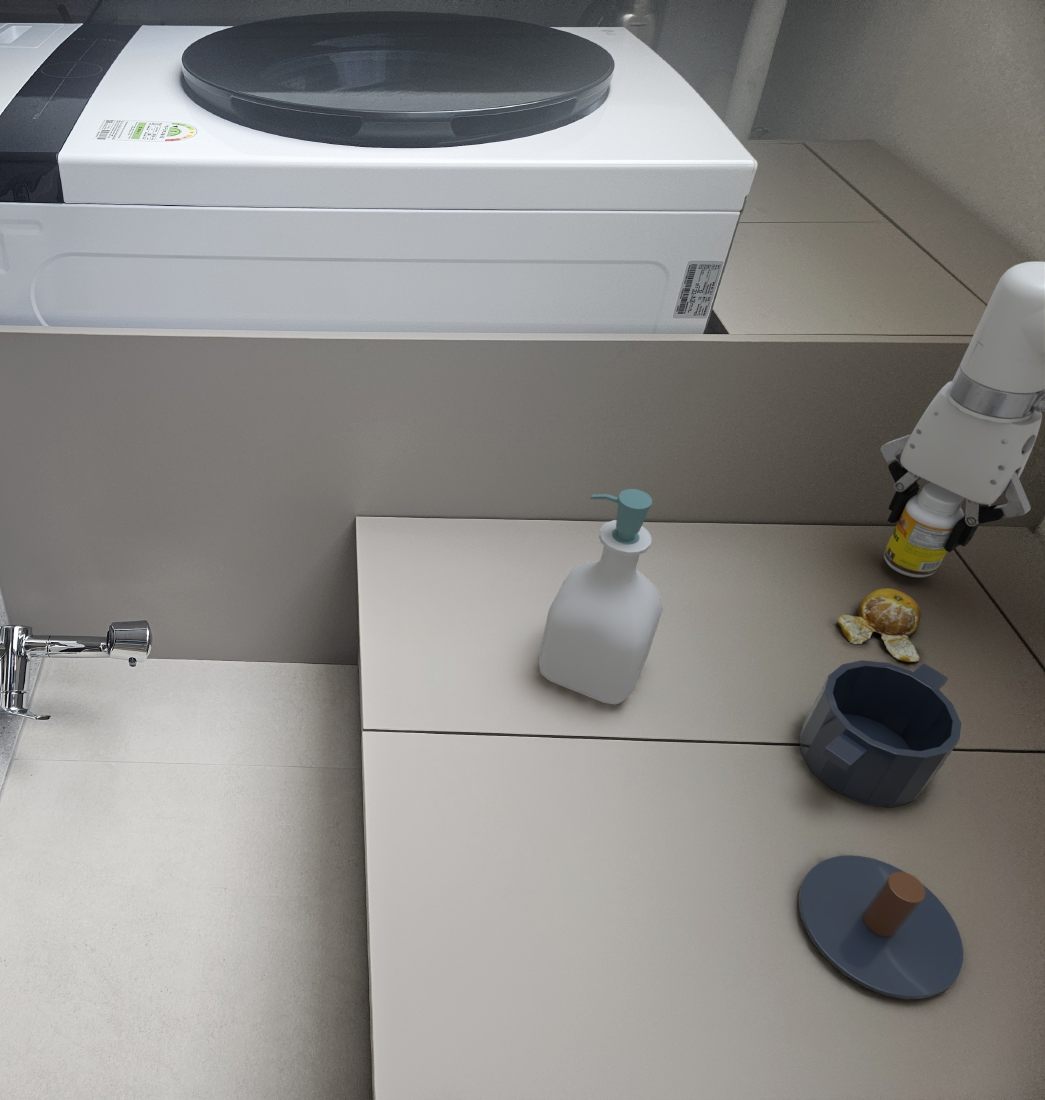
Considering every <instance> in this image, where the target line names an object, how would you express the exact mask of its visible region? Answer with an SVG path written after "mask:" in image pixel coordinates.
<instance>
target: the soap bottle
mask: <svg viewBox="0 0 1045 1100" xmlns="http://www.w3.org/2000/svg"><path fill="white" fill-rule="evenodd" d="M590 500H607V501H610V502H613V503H616V504H617V512H616V519H612V520H610V521H607V522H605V523H604V524H602V526H601V527H600V530H599V534H598V539H599V541H600V543H601V544H602V546H603V548H602V552H601V556H600V559H596V560H591V561H587V562H586V561H585V562H583V563H581V564H579V565H577V566H574V567H573V568H572V569H571V570H570V572H569V573H568V574H567V576H565V578H564V580H563V581H562V583H561V586H560V588H559V589H558V592H557V593H556V595H555V597H554V599H553V600H552V602H551V604H550V607H549V608H548V611H547V616H546V622H545V626H544V630H543V635H542V641H541V644H540V649H539V653H538V663H539V672H540V674H541V675H542V676H543V677H544V678H545V679H547V680H548V681H549V682H551V683H554V684H556V685H558V686H561V687H563V688H565V689H569V690H571V691H573V692H576V693H578V694H580V695H584V696H586V697H588V698H590V699H594V700H596V701H598V702H600V703H603V704H609V705H618V704H621V703H622V702H623V701H625V700H627V699H628V697H629V696H630V695H631V694H632V693H633V690H634V688H635V686H636V683H637V681H638V679H639V677H640V675H641V672H642V670H643V668H644V666H645V663H646V661H647V660H648V656H649V653H650V651H651V647H652V645H653V641H654V637H655V636H656V635H655V634H656V632H657V628H658V626H659V623H660V620H661V617H662V614H663V610H664V604H663V601H662V595H661V593H660V590H659V588H658V587H657V586H656V585H655V584H654V583H653V582H652V581H651V580H649V579H648V578H647V577H646V576H645V575H644V574H643V573H642V572H641V571H640V570H638V569H637V566H638V563H639V559H640V556H641V555H642V554H645V553H646V552H648V550H649V549H650V548H651V545H652V538H653V537H652V536H651V533H650V531H649V530H647V529H646V527H644V526H643V525H644V523H645V519H646V518H647V516H648V513H649V511H650V509H651V506H652V504H653V498H652V497H651V495H649V494H648V493H647V492H646V491H643V490H641V489H637V488H626V489H624V490H622V491H621V492H619V494H618V497H617V496H615V495H611V494H609V493H600V494H599V493H597V494H596V493H595V494H591V496H590Z"/></svg>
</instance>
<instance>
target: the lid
mask: <svg viewBox="0 0 1045 1100" xmlns="http://www.w3.org/2000/svg"><path fill="white" fill-rule="evenodd" d="M798 907H799V908H798V909H799V914H800V918H801V921H802V924H803V926H804V929H805V931H806V933H807V935H808V936H809V938H810V940H811V941H812V943H813V944H814V945H815V947H816V949H817V950H818V951H819V953H820V954H821V955H822V956H823V957H824V958H825V959H826V961H828V963H830V964H831V965H832V966H833V967H834V968H835V969H837V970H838V971H839V972H840V973H841V974H843V975H844V976H846V977H847V978H849V979H850V980H852V981H853V982H855V983H857V984H858V985H860V986H862V987H864V988H866V989H867V990H871V991H872V992H876V993H877V994H881V995H883V996H887V997H891V998H896V999H903V1000H922V999H927V998H932V997H934V996H936V995H939V994H941V993H942V992H944V991H945V990H947V989H948V988H949V987H951V985H952V984H953V983H954V982H955V981H956V979H957V978H958V976H959V975H960V972H961V970H962V967H963V962H964V946H963V941H962V938H961V937H962V936H961V934H960V931H959V929H958V927H957V924H956V922H955V920H954V918H953V917H952V915H951V914H950V912H949V910H948V909H947V908H946V906H945V905H944V904H943V903H942V902H941V900H940V899H939V898H938V897H937V896H936V894H934V893H933V892H932V891H931V890H930V889H929V888H928V887H927V886H925V885H924V884H923V883H922V882H921V881H920V880H919V879H918V878H917V877H915V876H914V875H913V874H911V873H908V872H905V871H904V870H902V869H900V868H899V867H896V866H895V865H892V864H890V863H887V862H884V861H881V860H879V859H876V858H873V857H872V858H871V857H867V856H861V855H850V854H849V855H839V856H833V857H830V858H827V859H824V860H822V861H820V862H819V863H817V864H816V865H814V866H813V867H812V868H811V869H810V870H809V871H808V872H807V874H806V875H805V877H804V879H803V880H802V882H801V884H800V888H799V893H798Z"/></svg>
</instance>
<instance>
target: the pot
mask: <svg viewBox="0 0 1045 1100" xmlns="http://www.w3.org/2000/svg"><path fill="white" fill-rule="evenodd" d="M948 680H949V677H948V676H946V675H944V674H942V673H941V672H939V671H938V670H936V669H935V668H933V667H931V666H930V665H928V664H926V663H925V662H923V663H922V664H920V665H919V666H918V667H916V669H914V670H910V669H907V668H903V667H901V666H899V665H895V664H893V663H890V662H884V661H874V660H865V659H863V660H862V659H861V660H857V661H852V662H851V661H850V662H847V663H842V664H840V666H838V667H837V668H836V669H834V670H833V671H832V672H831V673H830V674H828V676H827V677H826V679H825V681H824V683H823V684H822V687H821V689H820V691H819V693H818V695H817V697H816V699H815V701H814V702H813V705H812V706H811V708H810V710H809V712H808V713H807V716H806V717H805V720H804V722H803V726H802V728H801V730H800V733H799V747H800V751H801V754H802V757H803V759H804V761H805V763H806V764H807V766H808V767H809V769H810V770H811V771H812V772H813V773H814V775H815V776H816V777H818V778H819V779H820V780H821V782H823V783H824V784H826V785H827V786H828V787H829V788H830V789H832V790H834V791H835V792H837V793H839V794H841V795H842V796H845V797H846V798H848V799H851V800H853V801H856V802H859V803H861V804H866V805H869V806H876V807H898V806H903V805H905V804H909V803H910V802H912V801H914V800H915V799H917V798H918V797H919V796H920V795H921V794H922V793H923V791H925V790H926V788H927V787H928V786H929V785H930V783H931V782H932V780H933V779H934V778H935V776H936V775H937V773H938V772H939V771H940V769H941V768H942V766H943V765H944V764H945V762H946V760H948V758H949V756H950V755H951V753H952V752H953V750H954V749H955V747H956V746H957V745H958V743H959V742H960V740H961V731H962V720H961V719H960V716H959V714H958V712H957V709H956V708H955V705H954V704H953V702H952V701H951V700H950V699H949V697H947V696H946V695H945V694H944V693H943V692H942V691H941V690H940V689H942V687H944V686H945V684H946V682H947V681H948Z"/></svg>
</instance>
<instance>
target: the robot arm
mask: <svg viewBox="0 0 1045 1100" xmlns="http://www.w3.org/2000/svg"><path fill="white" fill-rule="evenodd" d="M1043 413H1045V261H1025V262H1021V263H1017V264H1014V265H1013V266H1011V267H1010V268H1008V269H1006V271H1005V272H1004V273H1003V274H1002V275H1001V276H1000V278H999V279H998V282H997V283H996V286H995V288H994V289H993V292H992V294H991V297H990V298H989V301H988V303H987V305H986V307H985V310H984V312H983V314H982V315H981V318H980V320H979V322H978V324H977V326H976V329H975V331H974V332H973V335H972V337H971V341H970V342H969V345H968V347H967V348H966V351H965V352H964V355H963V357H962V359H961V362H960V363H959V365H958V368H957V370H956V372H955V373H954V377H953V379H952V380H950V381H948V382H947V383H946V384H945V385H943V386H942V388H941V389H940V390H939V391H938V392H937V394H936V395H935V396H934V397H933V399H932V400H931V401H930V403H929V404H928V406H927V407H926V409H925V411H924V412H923V414H922V415H921V416H920V419H919V420H918V421H917V423H916V425H915V426H914V429H913V430H912V432H911V433H910V434H907V435H904V436H900V437H897V438H896V439H893V440H889V441H887V442H886V443H884V444H883V445H881V446H880V447H879V451H880V453H881V455H882V457H883V458H884V460H885V462H886V463H887V464H888V467H887V468H888V471H889V473H890V475H891V477H892V479H893V481H894V484H893V488H894V490H895V493H894V495H893V497H892V499H891V502H890V504H889V506H888V508H887V509H888V510H889V511H891V512H890V514H889V516H888V518H887V522H889V523H890V524H897V523H898V520H899V518H900V516H901V514H902V512H903V510H904V508H905V505H906V504H907V502H908V500H909V499H910V498H911V497H913V496H915V495H918V494H919V491H920V484H918V481H920V480H921V479H923V480H925V481H927V482H929V483H931V482H932V483H934V484H936V485H938V486H940V487H942V488H944V489H947V490H949V491H951V492H953V493H955V494H957V495H960V496H962V497H964V499H965V510H964V511H965V513H964V517H963V518H962V519H961V520H959V521H958V522H957V524H956V525H955V527H954V529H953V531H952V533H951V535H950V537H949V539H948V541H947V543H946V545H945V546H944V548H945V550H946V551H947V552H948V553H952V551H954V550H955V549H957V548H958V547H959V546H961V547H966V546H967V545H969V543H970V542H971V540H972V539H973V537H974V535H975V533H976V531H977V530H978V528H979V526H980V525H981V524H985V523H992V522H995V521H996V522H997V521H999V520H1001V519H1002V520H1003V519H1011V518H1017V517H1022V516H1025V515H1026V514H1027V513H1028V512H1029V511H1030V510H1031V508H1032V506H1031V504H1030V501H1029V499H1028V497H1027V494H1026V492H1025V489H1024V487H1023V484H1022V482H1021V480H1020V477H1021V475H1022V473H1023V472H1024V469H1025V466H1026V464H1027V462H1028V460H1029V457H1030V455H1031V454H1032V451H1033V448H1034V446H1035V443H1036V440H1037V437H1038V435H1039V431H1040V427H1041V425H1042V420H1043ZM1002 495H1004V497H1005V499H1006V501H1007V503H997V504H994V503H995V502H996V501H997V500H998V499H999V497H1000V496H1002Z"/></svg>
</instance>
